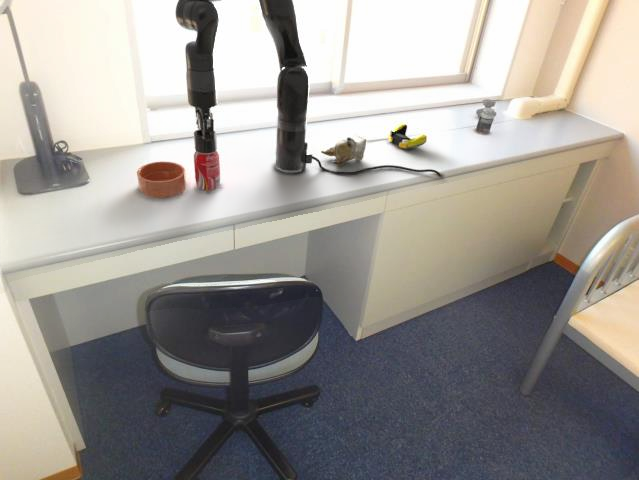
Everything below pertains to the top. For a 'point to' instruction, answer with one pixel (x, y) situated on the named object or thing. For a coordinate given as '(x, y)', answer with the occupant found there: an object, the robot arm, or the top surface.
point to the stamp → (486, 106)
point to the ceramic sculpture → (347, 150)
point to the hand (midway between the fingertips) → (205, 146)
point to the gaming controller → (405, 138)
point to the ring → (199, 142)
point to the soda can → (207, 170)
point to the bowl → (161, 179)
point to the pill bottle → (485, 121)
